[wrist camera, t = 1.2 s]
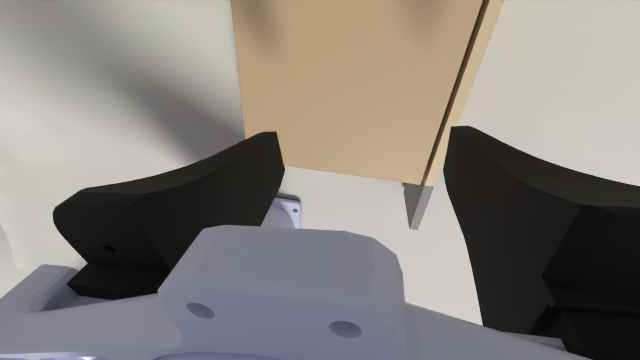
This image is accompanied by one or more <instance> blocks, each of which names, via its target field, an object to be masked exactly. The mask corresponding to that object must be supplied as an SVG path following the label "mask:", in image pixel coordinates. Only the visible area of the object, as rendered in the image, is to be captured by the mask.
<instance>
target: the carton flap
mask: <svg viewBox="0 0 640 360" xmlns="http://www.w3.org/2000/svg"><path fill="white" fill-rule="evenodd" d="M503 3H504V0H483V1H482V4H481V7H480V10H479V13H478V16H477V19H476V22H475V25H474V28H473V30H472V33H471V36H470V39H469V42H468V45H467V48H466V51H465V54H464V57H463V60H462V63H461V66H460V69H459V72H458V75H457V78H456V81H455V83H454V86H453V89H452V92H451V95H450V98H449V101H448V104H447V107H446V110H445V113H444V116H443V119H442V122H441V125H440V128H439V131H438V133H437V136H436V139H435V142H434V145H433V148H432V151H431V154H430V157H429V160H428V163H427V166H426V169H425V172H424V175H423V178H422V181H421V184H420V185H417V184H410V183H406V185H405V189H404V197H405V204H406V210H407V216H408V223H409V229H415V230H418V228H419V225H420V222H421V220H422V217H423V214H424V212H425V209H426V206H427V204H428V201H429V198H430V196H431V193H432V191H433V188H434V185H435V183H436V180H437V177H438V175H439V172H440V169H441V167H442V164H443V161H444V159H445V156H446V152H447V146H448V140H449V135H450V129H451V126H457V124H458V122H459V119H460V116H461V114H462V111H463V109H464V106H465V103H466V101H467V98H468V95H469V93H470V90H471V87H472V85H473V82H474V79H475V77H476V74H477V71H478V69H479V66H480V64H481V61H482V58H483V56H484V53H485V50H486V48H487V45H488V42H489V40H490V37H491V34H492V32H493V29H494V27H495V24H496V21H497V19H498V16H499V13H500V11H501V8H502V5H503Z"/></svg>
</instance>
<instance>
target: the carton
mask: <svg viewBox="0 0 640 360" xmlns="http://www.w3.org/2000/svg"><path fill="white" fill-rule="evenodd" d="M482 1H483V0H231V8H232V17H233V27H234V36H235V46H236V55H237V65H238V74H239V84H240V93H241V103H242V112H243V122H244V131H245V139H247V138H249V137H251V136H253V135H256V134H258V133H261V132H269V131H276V132H277V136H278V141H279V145H280V150H281V154H282V159H283V163H284V166H291V167H298V168H305V169H312V170H319V171H326V172H333V173H340V174H347V175H354V176H361V177H368V178H375V179H382V180H389V181H396V182H403V183H410V184H417V185H420V184H421V181H422V178H423V175H424V172H425V169H426V166H427V163H428V160H429V157H430V154H431V151H432V148H433V145H434V142H435V139H436V136H437V133H438V131H439V128H440V125H441V122H442V119H443V116H444V113H445V110H446V107H447V104H448V101H449V98H450V95H451V92H452V89H453V86H454V83H455V81H456V78H457V75H458V72H459V69H460V66H461V63H462V60H463V57H464V54H465V51H466V48H467V45H468V42H469V39H470V36H471V33H472V30H473V28H474V25H475V22H476V19H477V16H478V13H479V10H480V7H481V4H482Z"/></svg>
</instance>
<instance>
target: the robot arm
mask: <svg viewBox="0 0 640 360" xmlns="http://www.w3.org/2000/svg"><path fill="white" fill-rule="evenodd" d="M284 172H285V168H284V163H283V159H282V154H281V150H280V145H279V141H278V136H277V132H276V131H269V132H261V133H258V134H256V135H253V136H251V137H249V138H247V139H245V140H243V141H241V142H239V143H237V144H236V145H234V146H232V147H230V148H228V149H226V150H223V151H221V152H219V153H217V154H215V155H213V156H211V157H208V158H206V159H204V160H201V161H199V162H196V163H193V164H191V165H188V166H185V167H182V168H179V169H176V170H172V171H169V172H166V173H162V174H159V175H155V176H151V177H147V178H142V179H137V180H133V181H128V182H122V183H116V184H110V185H103V186H97V187H90V188H85V189H82V190H80V191H78V192H77V193H75V194H74V195H73V196H71V197H70V198H68V199H67V200H65V201H64V202H62V203H61V204H59V205H58V206H56V207H55V209H54V211H53V221H54V224H55V226H56V228H57V230H58V231H59V232H60V234H61V235H62V236H63V237H64V238H65V239H66V240H67V242H68V243H69V244H70V245H71V246H72V247H73V248H74V249H75V250H76V251H77V252H78V253H79V254H80V255H81V257H82V258H83V259H84V260H85V261H86V262H87V263H88V264H87V265H86V266H85V267H83V268H82V269H81V270H80V271H78V270H76V269H74V268H72V267H67V266H58V265H48V264H44V265H41V266H39V267H38V268H37V269H36V270H35V271H33V272H32V273H31V274H30V275H29V276H27V277H26V278H25V279H24V280H22V281H21V282H20V283H19V284H18V285H17V286H15V287H14V288H13V289H11V290H10V291H9V292H8V293H7V294H5V295H4V296H3V297H2V298H1V299H0V360H640V186H635V185H630V184H625V183H621V182H617V181H612V180H608V179H604V178H600V177H596V176H593V175H589V174H585V173H581V172H578V171H574V170H571V169H568V168H565V167H562V166H559V165H556V164H553V163H550V162H547V161H544V160H542V159H539V158H537V157H534V156H532V155H529V154H527V153H525V152H522V151H520V150H518V149H516V148H514V147H511V146H509V145H507V144H505V143H503V142H501V141H499V140H497V139H495V138H493V137H491V136H489V135H488V134H486V133H484V132H482V131H480V130H477V129H475V128H473V127H470V126H451V129H450V135H449V140H448V146H447V152H446V157H445V163H444V169H443V173H444V178H445V184H446V188H447V192H448V195H449V198H450V200H451V203H452V206H453V208H454V211H455V214H456V216H457V219H458V222H459V224H460V227H461V230H462V232H463V235H464V239H465V242H466V245H467V249H468V254H469V258H470V262H471V266H472V271H473V276H474V281H475V285H476V290H477V295H478V301H479V306H480V312H481V317H482V323H483V326H481V325H478V324H474V323H471V322H468V321H465V320H461V319H458V318H455V317H452V316H448V315H445V314H442V313H439V312H435V311H432V310H429V309H425V308H422V307H419V306H416V305H412V304H409V303H406V302H405V299H404V286H403V273H402V270H401V268H400V265H399V262H398V259H397V256H396V254H395V253H393V252H392V251H391V250H389V249H388V248H386V247H385V246H384V245H382V244H381V243H380V242H378V241H377V240H376V239H374V238H372V237H367V236H363V235H359V234H355V233H351V232H347V231H334V230H315V229H300V225H301V204H300V202H298V201H294V200H288V199H281V198H275V196H276V194H277V192H278V190H279V188H280V185H281V182H282V179H283V175H284ZM295 209H297V210H295Z"/></svg>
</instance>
